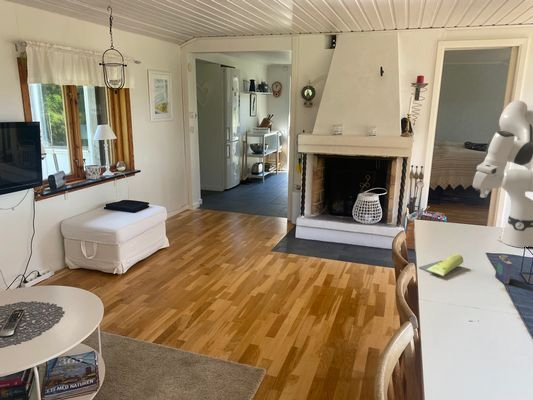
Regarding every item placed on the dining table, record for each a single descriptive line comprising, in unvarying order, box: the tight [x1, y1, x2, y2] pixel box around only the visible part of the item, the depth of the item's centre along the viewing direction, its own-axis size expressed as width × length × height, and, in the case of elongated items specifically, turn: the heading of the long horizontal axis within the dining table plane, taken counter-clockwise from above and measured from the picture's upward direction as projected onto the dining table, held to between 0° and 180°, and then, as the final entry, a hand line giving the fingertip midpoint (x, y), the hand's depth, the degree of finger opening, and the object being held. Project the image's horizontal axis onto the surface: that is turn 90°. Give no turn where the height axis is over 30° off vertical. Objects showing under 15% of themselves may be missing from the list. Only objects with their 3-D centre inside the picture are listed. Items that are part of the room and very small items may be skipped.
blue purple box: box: [494, 254, 513, 285], centre depth 164 cm, size 9×3×11 cm, turn 172°
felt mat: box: [418, 260, 463, 277], centre depth 176 cm, size 16×10×1 cm, turn 122°
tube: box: [426, 253, 464, 277], centre depth 173 cm, size 6×5×20 cm
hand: (482, 197), depth 182 cm, fingers closed
